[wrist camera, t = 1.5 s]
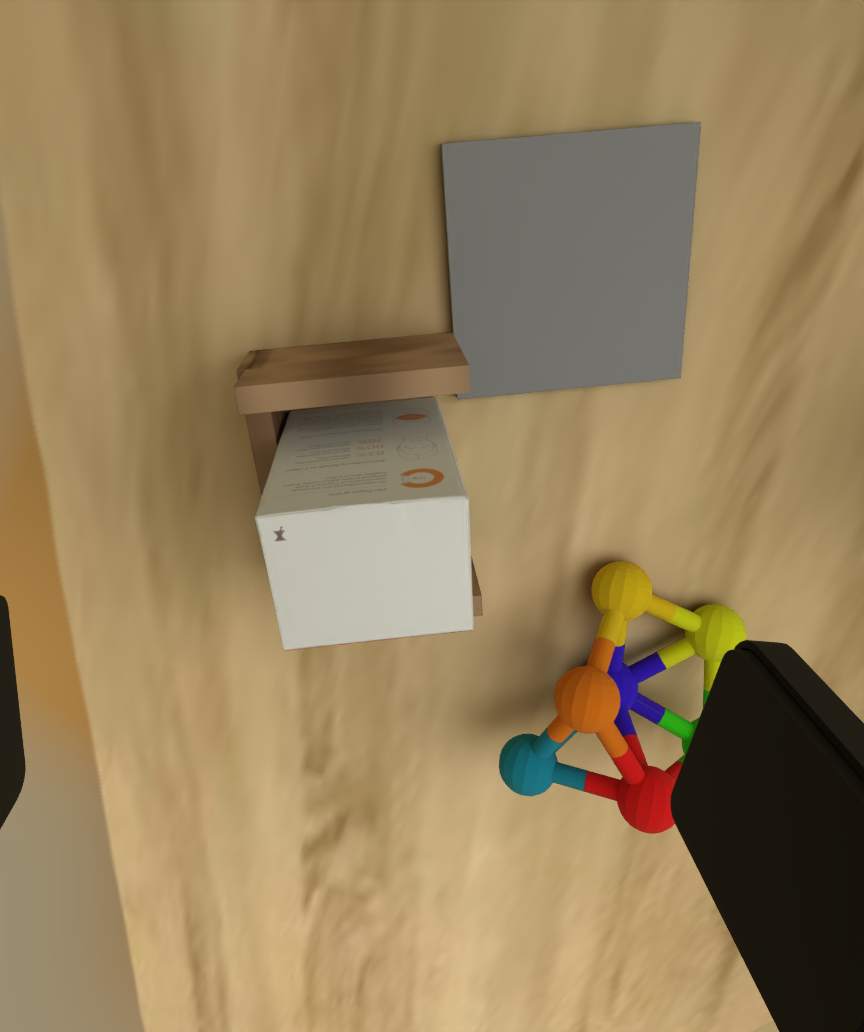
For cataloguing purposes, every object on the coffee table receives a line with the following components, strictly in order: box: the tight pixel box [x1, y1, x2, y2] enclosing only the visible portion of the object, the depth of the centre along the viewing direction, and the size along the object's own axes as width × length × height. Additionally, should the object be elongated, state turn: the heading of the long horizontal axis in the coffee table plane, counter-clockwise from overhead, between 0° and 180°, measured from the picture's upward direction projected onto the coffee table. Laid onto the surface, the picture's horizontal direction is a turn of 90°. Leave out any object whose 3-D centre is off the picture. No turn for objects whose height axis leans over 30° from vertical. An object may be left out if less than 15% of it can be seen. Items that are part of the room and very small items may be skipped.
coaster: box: [441, 122, 701, 399], centre depth 35 cm, size 12×12×1 cm
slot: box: [234, 332, 483, 616], centre depth 36 cm, size 10×13×7 cm
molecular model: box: [499, 561, 746, 834], centre depth 42 cm, size 15×10×15 cm
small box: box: [255, 397, 474, 650], centre depth 33 cm, size 8×6×13 cm
